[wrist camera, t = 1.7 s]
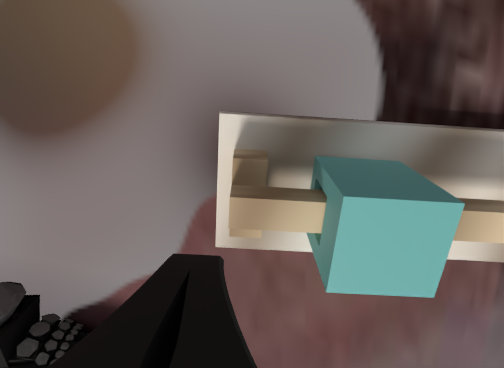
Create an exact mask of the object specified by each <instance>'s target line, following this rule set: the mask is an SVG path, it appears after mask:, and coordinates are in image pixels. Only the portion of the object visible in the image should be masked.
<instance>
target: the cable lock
mask: <svg viewBox="0 0 504 368" xmlns="http://www.w3.org/2000/svg"><path fill="white" fill-rule="evenodd" d="M25 294H26V291H25V289H24V287H23V285H22V284H21V283H16V282H1V283H0V368H47V367H48V366H49V365H51V364H52V363H53V362H55V361H56V360H57V359H59V358H60V357H61V356H62V355H64V354H65V353H66V352H68V351H69V350H70V349H71V348H73V347H74V346H75V345H76V344H78V343H79V342H80V341H81V340H82V339H84V338H85V337H86V336H87V335H88V334H89V333H83V332H80V330H81V329H82V327H83V325H82V324H76V326H74V327H73V329H72V330H69V328H70V327H71V326H72V324H73V322H75V321H73V320H71V319H68V318H65V320H64V321H63V322H62V323H61V324H60V325H59V323H60V322H61V320H58V319H60V317H59V316H58V315H56V314H48V315H45V316H42V319H43V320H41V321H40V320H39V319H40V295H25ZM58 325H59V327H58Z"/></svg>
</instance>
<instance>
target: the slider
mask: <svg viewBox="0 0 504 368" xmlns="http://www.w3.org/2000/svg"><path fill="white" fill-rule="evenodd" d="M310 189H315V190H323V191H324V193H325V194H326V196H327V202H326V208H325V214H324V220H323V227H322V233H307V236H308V239H309V242H310V245H311V248H312V251H313V254H314V257H315V260H316V263H317V266H318V269H319V272H320V275H321V278H322V281H323V284H324V287H325V290H326V292H329V293H349V294H370V295H390V296H411V297H431V298H434V296H435V293H436V290H437V287H438V284H439V281H440V278H441V275H442V272H443V269H444V266H445V263H446V260H447V257H448V254H449V251H450V248H451V245H452V241H453V238H454V235H455V232H456V229H457V226H458V223H459V220H460V217H461V214H462V211H463V208H464V205H465V203H464V202H462V201H460V200H459V199H457V198H456V197H454V196H453V195H451V194H450V193H448V192H447V191H445V190H444V189H442V188H440V187H439V186H437V185H436V184H434V183H433V182H431V181H430V180H428V179H427V178H425V177H424V176H422V175H420V174H419V173H417V172H416V171H414V170H413V169H411V168H410V167H408V166H407V165H405V164H404V163H402V162H401V161H389V160H373V159H357V158H340V157H324V156H315V160H314V167H313V174H312V181H311V188H310Z"/></svg>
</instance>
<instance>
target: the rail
mask: <svg viewBox="0 0 504 368" xmlns="http://www.w3.org/2000/svg"><path fill="white" fill-rule="evenodd" d="M219 117H220V118H219V151H218V182H217V216H216V247H227V248H246V249H265V250H284V251H303V252H313V251H312V248H311V245H310V242H309V239H308V236H307V233H322V227H323V220H324V214H325V208H326V202H327V196H326V194H325V193H324V191H323V190H315V189H310V188H311V181H312V174H313V167H314V160H315V156H324V157H340V158H357V159H373V160H389V161H401V162H402V163H404V164H405V165H407V166H408V167H410V168H411V169H413V170H414V171H416V172H417V173H419V174H420V175H422V176H424V177H425V178H427V179H428V180H430V181H431V182H433V183H434V184H436V185H437V186H439V187H440V188H442V189H444V190H445V191H447V192H448V193H450V194H451V195H453V196H454V197H456V198H457V199H459V200H460V201H462V202H464V203H465V205H464V208H463V211H462V214H461V217H460V220H459V223H458V226H457V229H456V232H455V235H454V238H453V241H452V245H451V248H450V251H449V254H448V257H447V259H455V260H474V261H493V262H504V129H490V128H474V127H459V126H444V125H429V124H413V123H398V122H383V121H368V120H353V119H336V118H322V117H306V116H292V115H291V116H290V115H275V114H260V113H246V112H231V111H221V112H220V114H219Z"/></svg>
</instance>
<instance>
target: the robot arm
mask: <svg viewBox="0 0 504 368" xmlns="http://www.w3.org/2000/svg"><path fill="white" fill-rule="evenodd" d="M223 266H224V260H223V259H222V258H221V257H220V256H211V255H191V254H173V255H171V256H170V257H169V258H168V259H167V260H166V261H165V262H164V263H163V265H161V267H160V268H159V269H158V270H157V271H156V272H155V273H154V274H153V275H152V276H151V277H150V278H149V279H148V280H147V281H146V282H145V283H144V284H143V285H142V286H141V287H140V288H139V289H138V290H137V291H136V292H135V293H134V294H133V295H132V296H131V297H130V298H129V299H128V300H127V301H126V302H124V303H123V304H122V305H121V306H120V307H119V308H118V309H117V310H116V311H115V312H114V313H113V314H111V315H110V316H109V317H108V318H107V319H106V320H104V321H103V322H102V323H101V324H100V325H99V326H98V327H96V328H95V329H94V330H93V331H92V332H91V333H90V334H88V335H87V336H86V337H85V338H84V339H82V340H81V341H80V342H79V343H78V344H76V345H75V346H74V347H73V348H71V349H70V350H69V351H68V352H66V353H65V354H64V355H62V356H61V357H60V358H59V359H57V360H56V361H55V362H53V363H52V364H51V365H49V366H48V367H47V368H257V366H256V364H255V362H254V360H253V358H252V356H251V353H250V351H249V349H248V347H247V344H246V342H245V339H244V337H243V335H242V332H241V330H240V327H239V324H238V322H237V319H236V316H235V313H234V310H233V307H232V304H231V301H230V298H229V294H228V290H227V286H226V282H225V277H224V269H223Z"/></svg>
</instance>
